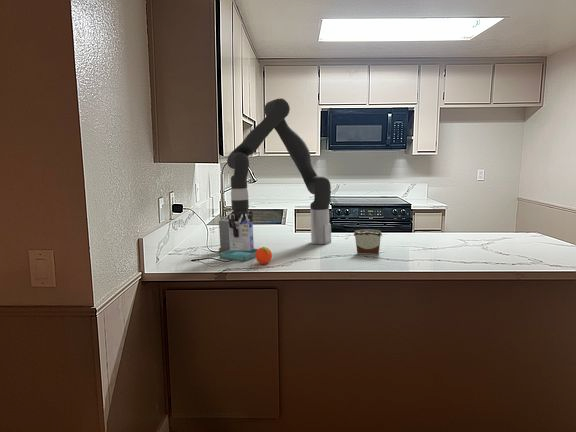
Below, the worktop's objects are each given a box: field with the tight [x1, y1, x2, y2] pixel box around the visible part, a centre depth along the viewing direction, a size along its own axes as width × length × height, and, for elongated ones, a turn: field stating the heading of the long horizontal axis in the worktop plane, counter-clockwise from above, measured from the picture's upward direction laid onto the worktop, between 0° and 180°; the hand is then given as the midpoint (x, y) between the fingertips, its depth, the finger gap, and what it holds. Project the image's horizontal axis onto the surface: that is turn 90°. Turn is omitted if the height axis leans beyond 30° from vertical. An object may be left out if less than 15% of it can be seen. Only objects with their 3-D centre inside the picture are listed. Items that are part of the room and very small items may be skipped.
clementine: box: [255, 246, 273, 265], centre depth 168 cm, size 8×7×7 cm
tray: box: [219, 248, 259, 262], centre depth 183 cm, size 14×14×2 cm
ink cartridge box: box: [229, 220, 255, 251], centre depth 181 cm, size 10×6×14 cm, turn 78°
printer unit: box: [218, 218, 237, 253], centre depth 195 cm, size 7×14×15 cm, turn 145°
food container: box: [353, 228, 383, 256], centre depth 181 cm, size 12×6×10 cm, turn 71°
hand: (241, 235), depth 181 cm, fingers closed on ink cartridge box, 6 cm apart
